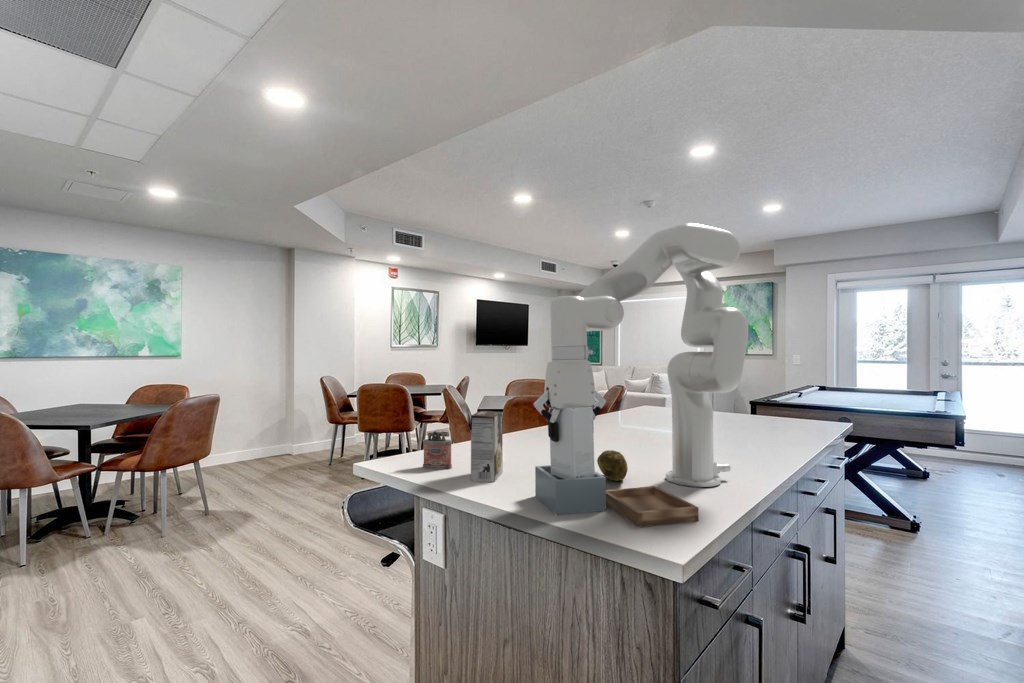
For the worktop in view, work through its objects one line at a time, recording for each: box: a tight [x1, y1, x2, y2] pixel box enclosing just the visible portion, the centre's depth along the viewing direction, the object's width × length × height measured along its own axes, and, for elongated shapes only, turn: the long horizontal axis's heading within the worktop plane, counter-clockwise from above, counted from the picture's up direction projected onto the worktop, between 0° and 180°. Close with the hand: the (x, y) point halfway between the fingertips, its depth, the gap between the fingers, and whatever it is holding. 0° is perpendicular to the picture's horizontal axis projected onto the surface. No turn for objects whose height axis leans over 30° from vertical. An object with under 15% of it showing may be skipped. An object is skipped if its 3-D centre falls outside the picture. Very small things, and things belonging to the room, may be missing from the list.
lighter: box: [422, 430, 453, 470], centre depth 129 cm, size 8×3×10 cm, turn 81°
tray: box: [606, 485, 700, 528], centre depth 94 cm, size 13×15×2 cm
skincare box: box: [548, 406, 596, 479], centre depth 99 cm, size 8×6×15 cm
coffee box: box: [470, 410, 504, 483], centre depth 120 cm, size 9×6×16 cm
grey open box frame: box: [534, 464, 607, 516], centre depth 99 cm, size 11×13×6 cm
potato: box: [596, 449, 628, 482], centre depth 116 cm, size 8×13×8 cm, turn 153°
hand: (571, 438), depth 99 cm, fingers closed on skincare box, 6 cm apart
